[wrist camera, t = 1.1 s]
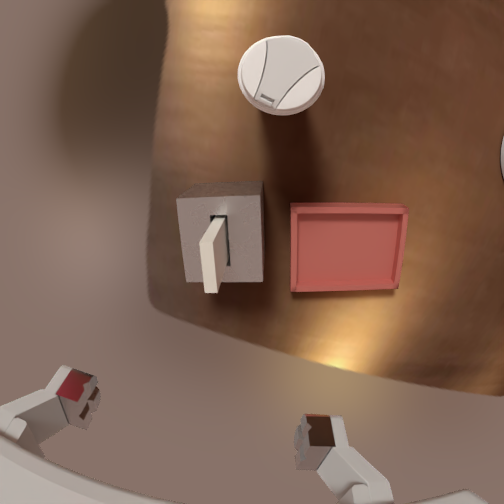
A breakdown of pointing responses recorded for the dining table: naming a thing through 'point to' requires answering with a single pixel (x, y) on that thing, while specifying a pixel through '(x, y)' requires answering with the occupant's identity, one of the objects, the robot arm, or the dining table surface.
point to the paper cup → (281, 75)
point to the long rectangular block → (215, 253)
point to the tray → (346, 246)
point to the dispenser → (239, 227)
